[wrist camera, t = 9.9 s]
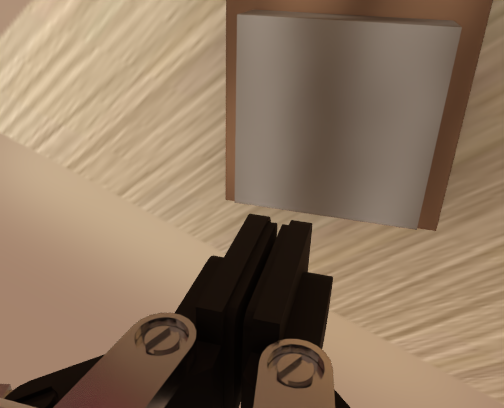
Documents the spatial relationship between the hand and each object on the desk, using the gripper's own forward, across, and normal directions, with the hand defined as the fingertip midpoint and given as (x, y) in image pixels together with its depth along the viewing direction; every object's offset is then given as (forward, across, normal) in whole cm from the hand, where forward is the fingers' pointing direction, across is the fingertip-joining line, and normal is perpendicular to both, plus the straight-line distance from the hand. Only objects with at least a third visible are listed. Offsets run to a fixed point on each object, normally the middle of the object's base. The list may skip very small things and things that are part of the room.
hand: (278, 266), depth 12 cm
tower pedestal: (+17, 0, 0) cm, 17 cm away
